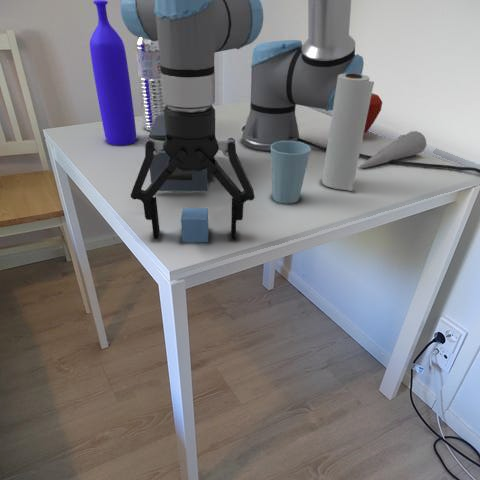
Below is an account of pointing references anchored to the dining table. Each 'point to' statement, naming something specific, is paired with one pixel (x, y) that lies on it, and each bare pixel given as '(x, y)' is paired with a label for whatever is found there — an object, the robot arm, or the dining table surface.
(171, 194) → the dining table surface
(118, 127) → the bottle
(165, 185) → the drawer
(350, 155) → the paper towel roll
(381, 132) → the dining table surface
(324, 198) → the dining table surface
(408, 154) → the long tapered cone
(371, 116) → the apple
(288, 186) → the cup
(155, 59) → the water bottle
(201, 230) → the steel blue cube
